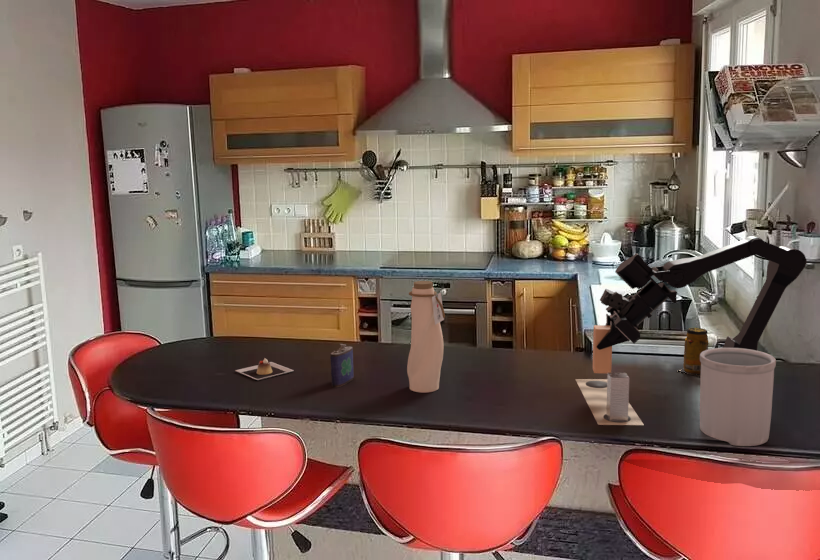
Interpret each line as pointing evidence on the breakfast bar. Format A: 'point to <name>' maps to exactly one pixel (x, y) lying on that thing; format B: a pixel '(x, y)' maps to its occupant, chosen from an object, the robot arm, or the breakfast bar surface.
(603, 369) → the marker post
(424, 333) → the water bottle
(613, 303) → the robot arm
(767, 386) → the utensil holder
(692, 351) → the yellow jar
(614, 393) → the fixed post
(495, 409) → the breakfast bar surface
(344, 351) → the flask
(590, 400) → the template board
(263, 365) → the dessert
